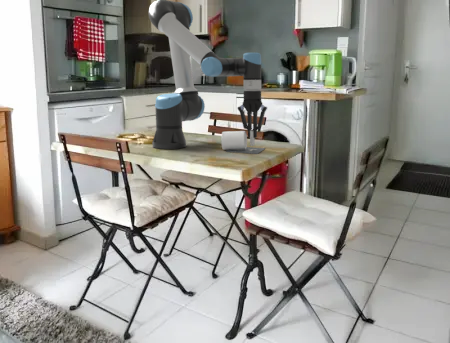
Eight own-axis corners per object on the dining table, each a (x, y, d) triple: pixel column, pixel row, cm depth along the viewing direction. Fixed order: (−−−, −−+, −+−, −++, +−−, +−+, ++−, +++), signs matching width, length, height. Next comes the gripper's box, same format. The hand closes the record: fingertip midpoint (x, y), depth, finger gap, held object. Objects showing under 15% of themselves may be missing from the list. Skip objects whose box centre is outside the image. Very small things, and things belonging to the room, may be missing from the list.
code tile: (225, 151, 192) (225, 151, 192) (235, 146, 205) (235, 146, 205) (257, 154, 188) (257, 153, 188) (265, 148, 201) (265, 148, 201)
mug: (244, 150, 191) (243, 132, 189) (221, 151, 193) (220, 132, 191) (248, 146, 202) (248, 128, 201) (227, 146, 204) (226, 129, 203)
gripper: (235, 90, 188) (235, 145, 193) (265, 90, 184) (264, 147, 190) (240, 89, 195) (240, 143, 200) (269, 89, 191) (268, 144, 196)
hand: (252, 145), depth 195 cm, fingers closed
